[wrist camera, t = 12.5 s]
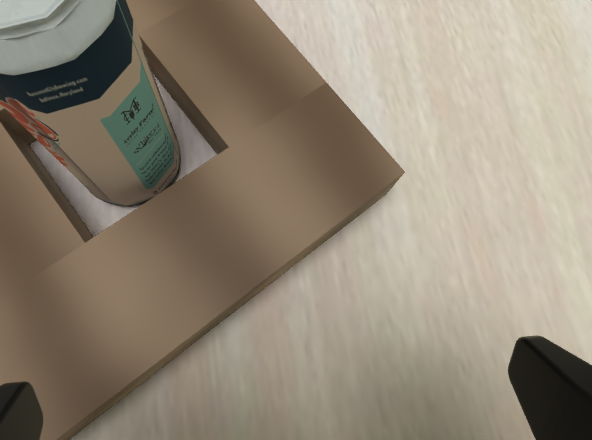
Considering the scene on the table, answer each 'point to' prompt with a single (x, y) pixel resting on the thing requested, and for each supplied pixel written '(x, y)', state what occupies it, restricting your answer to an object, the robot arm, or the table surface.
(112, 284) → the holder block
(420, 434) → the table surface
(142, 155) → the beer can
